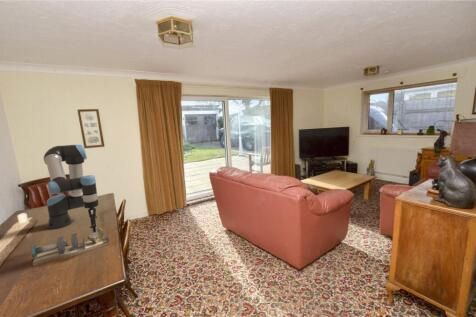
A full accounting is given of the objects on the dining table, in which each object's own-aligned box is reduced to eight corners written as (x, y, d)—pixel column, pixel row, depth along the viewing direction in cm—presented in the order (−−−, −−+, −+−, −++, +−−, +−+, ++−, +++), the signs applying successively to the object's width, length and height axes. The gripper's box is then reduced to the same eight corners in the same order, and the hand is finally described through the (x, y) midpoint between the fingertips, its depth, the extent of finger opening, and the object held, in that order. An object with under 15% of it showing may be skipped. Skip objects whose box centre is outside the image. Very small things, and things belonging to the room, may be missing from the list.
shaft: (32, 259, 121) (30, 248, 120) (34, 254, 126) (32, 244, 125) (67, 250, 130) (66, 239, 129) (68, 245, 135) (67, 235, 134)
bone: (86, 244, 134) (87, 228, 138) (88, 245, 139) (88, 229, 143) (102, 242, 138) (103, 225, 142) (103, 243, 143) (103, 227, 147)
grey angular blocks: (60, 250, 134) (58, 236, 133) (108, 238, 148) (106, 225, 147) (58, 258, 126) (56, 243, 125) (109, 244, 140) (107, 230, 139)
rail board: (36, 257, 128) (36, 254, 128) (108, 238, 148) (108, 236, 148) (33, 265, 120) (32, 263, 120) (109, 244, 140) (109, 242, 140)
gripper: (83, 196, 144) (87, 226, 148) (82, 207, 124) (87, 242, 127) (97, 194, 149) (100, 223, 152) (98, 204, 128) (102, 238, 131)
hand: (95, 232), depth 140 cm, fingers open, 13 cm apart
